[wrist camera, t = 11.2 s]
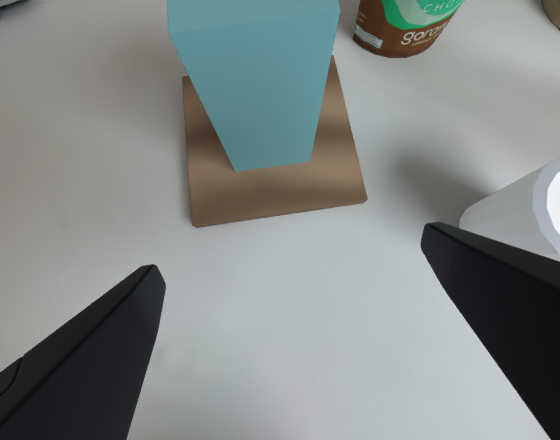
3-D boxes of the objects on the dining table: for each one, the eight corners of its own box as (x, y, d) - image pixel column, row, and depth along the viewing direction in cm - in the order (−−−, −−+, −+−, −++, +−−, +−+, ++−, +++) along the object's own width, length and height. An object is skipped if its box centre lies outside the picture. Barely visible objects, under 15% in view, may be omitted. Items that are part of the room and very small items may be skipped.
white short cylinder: (432, 229, 20) (506, 205, 13) (488, 177, 21) (584, 128, 14) (501, 297, 19) (623, 308, 12) (558, 238, 20) (701, 217, 13)
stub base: (363, 203, 21) (384, 182, 16) (196, 227, 21) (172, 214, 16) (331, 64, 24) (341, 16, 20) (186, 85, 24) (163, 41, 19)
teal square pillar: (309, 161, 21) (340, 9, 9) (235, 171, 21) (168, 33, 9) (298, 97, 22) (311, -107, 10) (228, 106, 22) (162, -87, 10)
